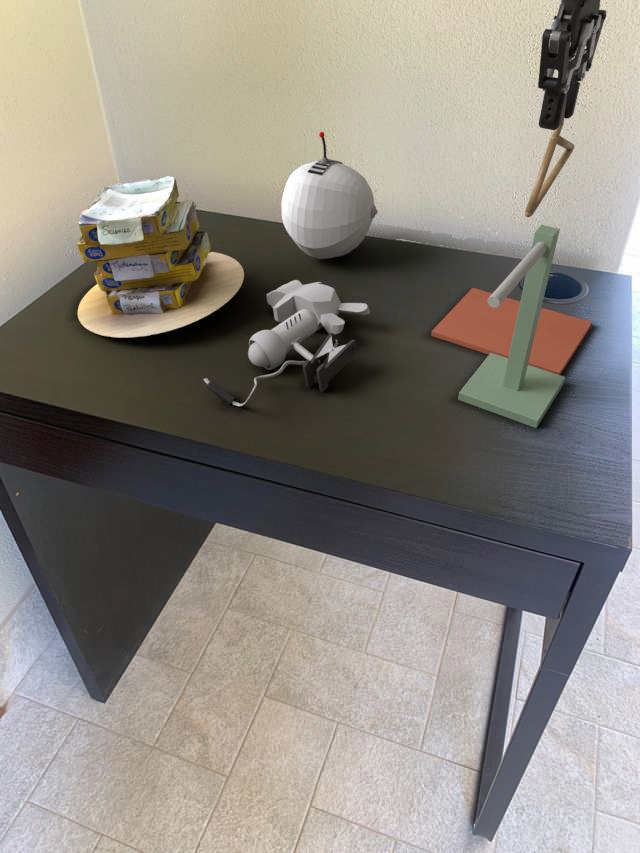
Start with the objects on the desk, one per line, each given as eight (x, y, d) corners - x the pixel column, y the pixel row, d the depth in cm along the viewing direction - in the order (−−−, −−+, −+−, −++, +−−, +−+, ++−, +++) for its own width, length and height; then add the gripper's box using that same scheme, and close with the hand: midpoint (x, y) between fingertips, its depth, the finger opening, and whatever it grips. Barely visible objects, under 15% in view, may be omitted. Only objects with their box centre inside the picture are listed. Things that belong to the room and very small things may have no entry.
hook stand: (563, 384, 86) (609, 223, 72) (507, 474, 74) (549, 303, 60) (489, 359, 90) (518, 202, 76) (424, 441, 79) (445, 273, 64)
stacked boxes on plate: (45, 335, 96) (8, 222, 85) (126, 254, 114) (104, 152, 103) (209, 359, 91) (193, 243, 80) (266, 271, 109) (260, 166, 98)
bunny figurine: (296, 267, 102) (375, 289, 93) (300, 298, 105) (377, 322, 96) (250, 291, 97) (330, 317, 88) (256, 323, 100) (333, 352, 91)
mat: (590, 326, 96) (592, 322, 96) (558, 377, 87) (559, 372, 87) (471, 292, 104) (472, 287, 103) (431, 335, 95) (431, 331, 94)
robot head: (392, 247, 115) (400, 123, 102) (352, 285, 106) (355, 153, 92) (308, 226, 121) (306, 107, 108) (264, 260, 112) (255, 134, 99)
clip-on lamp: (256, 446, 82) (364, 363, 88) (245, 414, 77) (361, 329, 83) (201, 393, 88) (306, 319, 94) (187, 361, 83) (299, 285, 89)
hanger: (568, 148, 87) (578, 62, 77) (575, 149, 87) (586, 63, 77) (523, 218, 82) (528, 136, 73) (530, 220, 82) (537, 138, 72)
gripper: (613, -54, 60) (568, 147, 71) (652, -70, 69) (607, 111, 80) (530, -58, 63) (500, 134, 74) (578, -73, 72) (544, 101, 83)
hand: (555, 121), depth 77 cm, fingers closed on hanger, 4 cm apart
